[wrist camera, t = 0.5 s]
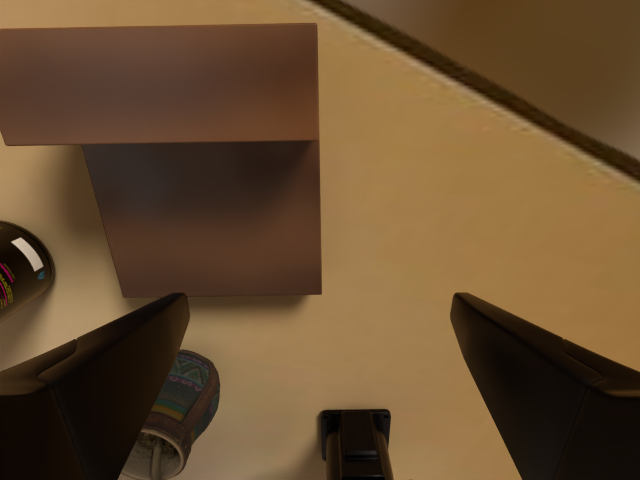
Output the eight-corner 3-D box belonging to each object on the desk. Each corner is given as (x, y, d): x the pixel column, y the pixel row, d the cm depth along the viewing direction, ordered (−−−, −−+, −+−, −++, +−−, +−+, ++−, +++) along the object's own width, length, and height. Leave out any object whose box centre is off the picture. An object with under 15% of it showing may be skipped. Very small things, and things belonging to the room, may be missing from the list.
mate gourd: (199, 324, 28) (142, 433, 19) (245, 387, 31) (213, 509, 22) (129, 354, 30) (43, 469, 20) (178, 411, 32) (122, 537, 23)
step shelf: (321, 274, 27) (322, 341, 19) (143, 277, 27) (76, 345, 19) (317, 50, 21) (317, 22, 13) (89, 54, 21) (-38, 29, 13)
